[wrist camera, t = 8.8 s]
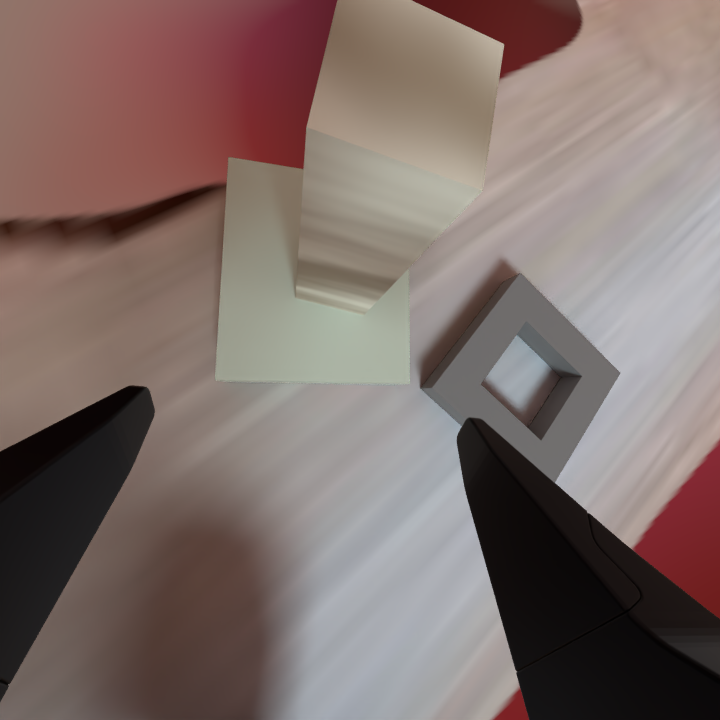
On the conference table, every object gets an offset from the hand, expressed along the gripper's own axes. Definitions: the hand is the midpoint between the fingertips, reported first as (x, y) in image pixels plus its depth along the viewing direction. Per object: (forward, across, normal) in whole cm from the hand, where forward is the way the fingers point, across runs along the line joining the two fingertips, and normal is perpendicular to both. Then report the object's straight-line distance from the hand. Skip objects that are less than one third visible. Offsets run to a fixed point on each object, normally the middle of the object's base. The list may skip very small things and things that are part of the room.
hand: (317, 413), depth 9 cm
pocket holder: (+13, -16, +7) cm, 22 cm away
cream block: (+13, 0, +1) cm, 13 cm away
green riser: (+16, +1, +3) cm, 16 cm away
